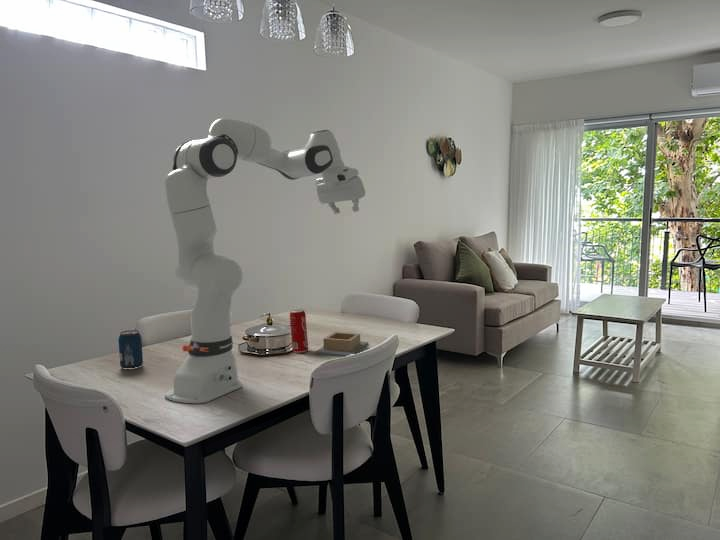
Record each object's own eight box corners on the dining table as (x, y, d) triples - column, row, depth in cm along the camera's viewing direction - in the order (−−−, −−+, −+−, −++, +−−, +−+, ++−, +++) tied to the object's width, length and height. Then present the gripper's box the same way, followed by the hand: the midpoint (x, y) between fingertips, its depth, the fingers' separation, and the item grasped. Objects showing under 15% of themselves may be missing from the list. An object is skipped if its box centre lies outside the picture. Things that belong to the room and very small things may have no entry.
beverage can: (305, 353, 189) (304, 312, 187) (288, 352, 190) (287, 312, 188) (310, 349, 195) (309, 309, 193) (293, 348, 196) (292, 308, 194)
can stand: (351, 357, 184) (351, 343, 183) (314, 354, 188) (314, 340, 188) (368, 344, 200) (367, 331, 200) (333, 341, 205) (333, 329, 204)
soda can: (138, 363, 180) (135, 328, 179) (146, 367, 175) (144, 332, 174) (117, 367, 175) (114, 332, 174) (125, 372, 171) (122, 336, 169)
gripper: (308, 182, 191) (321, 217, 195) (350, 174, 177) (362, 213, 182) (319, 176, 195) (331, 211, 200) (361, 168, 182) (373, 206, 186)
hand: (346, 212), depth 191 cm, fingers open, 8 cm apart
